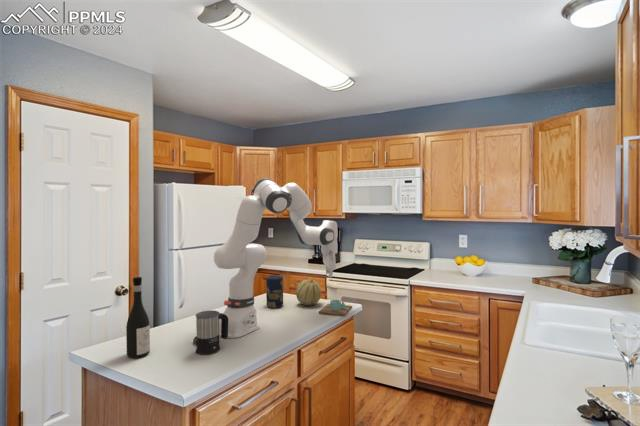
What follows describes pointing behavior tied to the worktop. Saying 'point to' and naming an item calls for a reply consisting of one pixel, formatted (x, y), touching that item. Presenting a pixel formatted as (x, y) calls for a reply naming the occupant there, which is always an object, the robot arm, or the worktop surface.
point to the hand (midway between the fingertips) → (329, 274)
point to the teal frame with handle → (336, 305)
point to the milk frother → (210, 331)
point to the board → (341, 312)
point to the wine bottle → (138, 326)
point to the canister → (274, 291)
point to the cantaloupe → (308, 292)
